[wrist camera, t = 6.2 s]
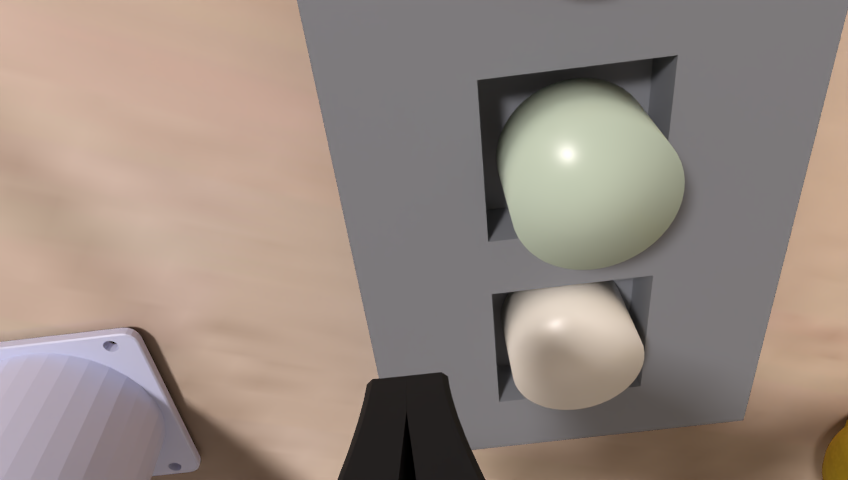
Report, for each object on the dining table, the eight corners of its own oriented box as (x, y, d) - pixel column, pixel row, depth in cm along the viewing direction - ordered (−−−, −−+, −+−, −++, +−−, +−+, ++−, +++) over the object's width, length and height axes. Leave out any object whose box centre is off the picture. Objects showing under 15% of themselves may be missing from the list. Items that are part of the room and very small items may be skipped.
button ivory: (503, 360, 25) (514, 416, 22) (498, 271, 22) (510, 324, 20) (616, 347, 24) (639, 402, 22) (624, 256, 22) (649, 308, 20)
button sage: (499, 223, 19) (513, 278, 17) (492, 88, 17) (507, 133, 15) (643, 206, 19) (674, 260, 17) (656, 68, 17) (694, 110, 15)
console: (395, 406, 27) (396, 458, 25) (233, -395, 13) (205, -426, 11) (716, 370, 27) (743, 420, 25) (891, -490, 13) (987, -540, 11)
